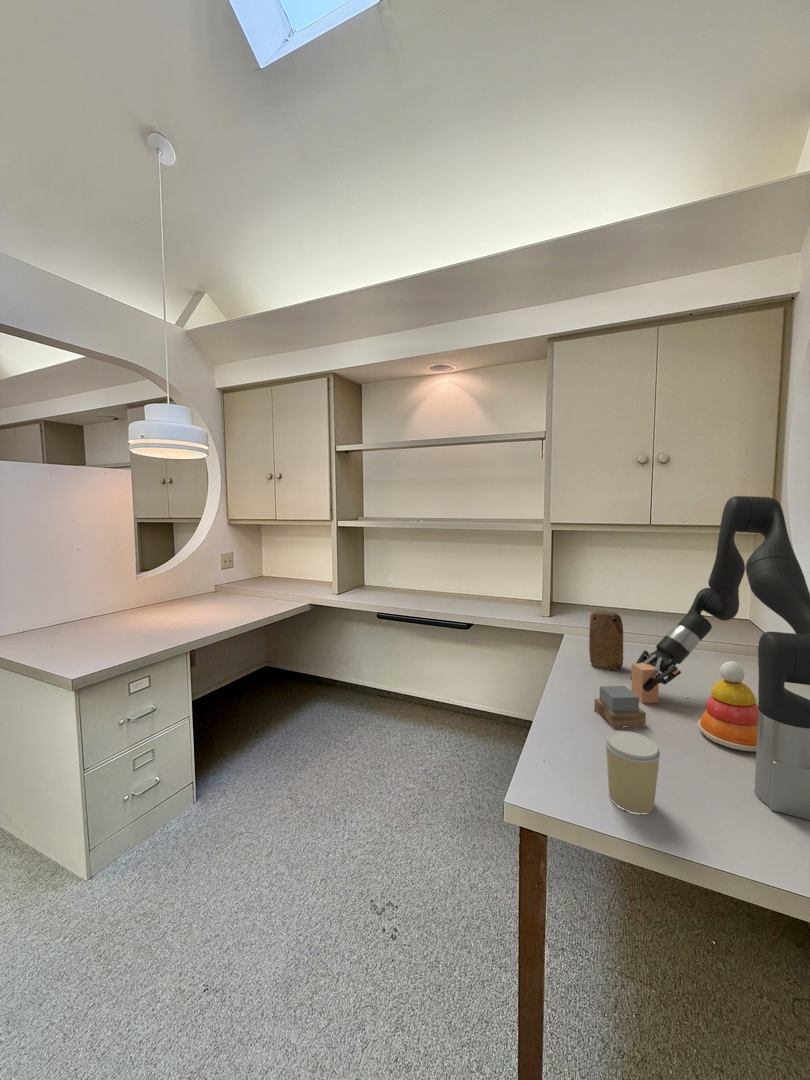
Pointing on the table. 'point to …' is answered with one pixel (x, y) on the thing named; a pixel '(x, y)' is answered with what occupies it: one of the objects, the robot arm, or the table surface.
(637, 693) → the pillar
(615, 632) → the block
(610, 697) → the tower top
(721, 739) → the stacking toy
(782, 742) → the robot arm
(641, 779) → the coffee cup
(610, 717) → the tower base
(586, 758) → the table surface
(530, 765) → the table surface
